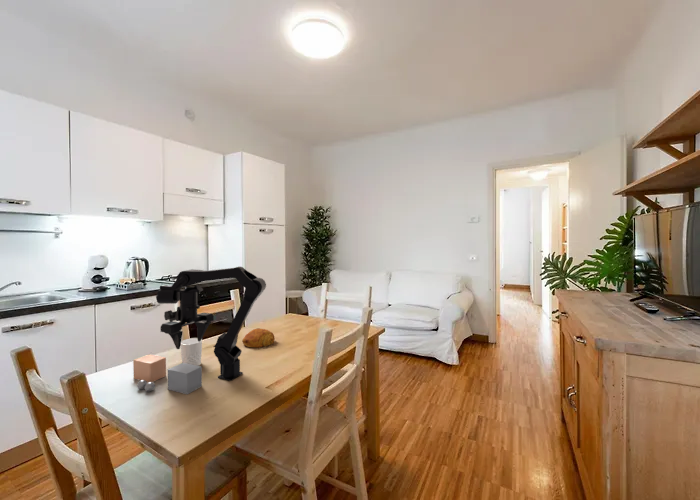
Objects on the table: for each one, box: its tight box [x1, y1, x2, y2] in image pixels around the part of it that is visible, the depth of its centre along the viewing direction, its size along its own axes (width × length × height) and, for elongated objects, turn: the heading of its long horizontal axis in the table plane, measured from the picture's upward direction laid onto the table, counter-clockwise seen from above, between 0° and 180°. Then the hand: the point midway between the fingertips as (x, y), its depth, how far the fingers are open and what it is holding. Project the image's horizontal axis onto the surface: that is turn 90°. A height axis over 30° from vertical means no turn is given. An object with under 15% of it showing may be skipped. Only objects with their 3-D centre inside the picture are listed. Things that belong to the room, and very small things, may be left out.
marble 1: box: [136, 380, 148, 390], centre depth 104 cm, size 3×3×3 cm
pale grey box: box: [167, 362, 203, 395], centre depth 105 cm, size 9×6×7 cm, turn 69°
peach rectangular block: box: [132, 353, 167, 383], centre depth 113 cm, size 9×6×7 cm, turn 69°
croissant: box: [242, 328, 275, 349], centre depth 150 cm, size 14×16×8 cm
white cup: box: [180, 337, 203, 366], centre depth 124 cm, size 8×8×10 cm
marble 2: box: [144, 381, 156, 392], centre depth 103 cm, size 3×3×3 cm
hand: (189, 344), depth 113 cm, fingers open, 9 cm apart
